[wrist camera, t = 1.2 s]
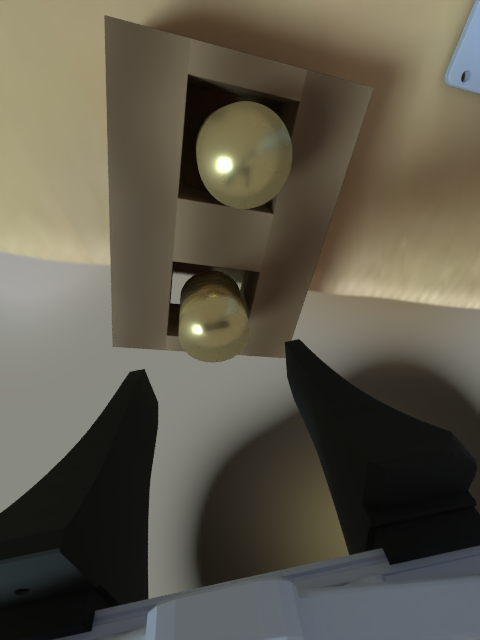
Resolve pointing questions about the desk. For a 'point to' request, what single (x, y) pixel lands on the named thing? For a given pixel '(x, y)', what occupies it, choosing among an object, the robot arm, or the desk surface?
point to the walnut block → (197, 203)
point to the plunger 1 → (243, 154)
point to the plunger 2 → (212, 317)
